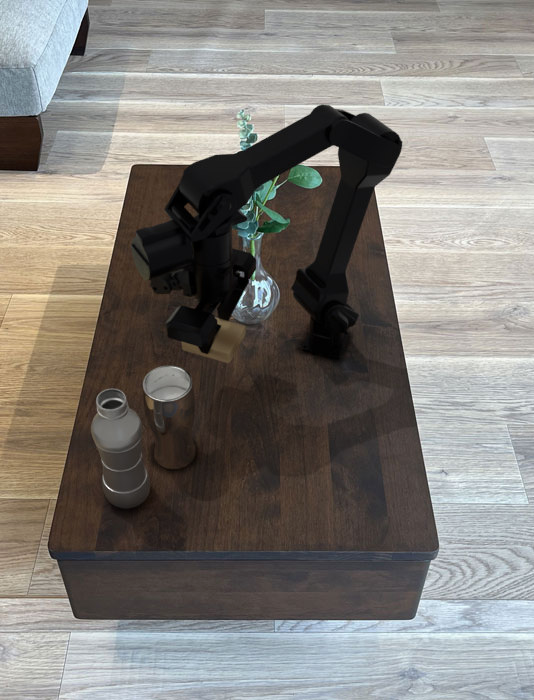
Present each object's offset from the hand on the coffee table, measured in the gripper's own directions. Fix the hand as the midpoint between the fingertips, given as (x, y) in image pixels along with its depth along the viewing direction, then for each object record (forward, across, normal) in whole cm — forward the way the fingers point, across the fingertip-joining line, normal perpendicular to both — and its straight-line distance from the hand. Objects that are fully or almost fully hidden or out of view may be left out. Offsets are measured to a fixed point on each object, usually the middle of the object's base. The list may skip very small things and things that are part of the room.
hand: (214, 337), depth 118 cm
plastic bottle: (+11, +23, -3) cm, 26 cm away
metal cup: (+11, +14, 0) cm, 18 cm away
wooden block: (+1, 0, 0) cm, 1 cm away
